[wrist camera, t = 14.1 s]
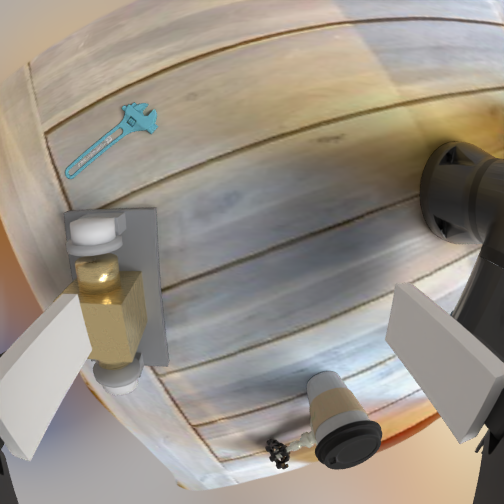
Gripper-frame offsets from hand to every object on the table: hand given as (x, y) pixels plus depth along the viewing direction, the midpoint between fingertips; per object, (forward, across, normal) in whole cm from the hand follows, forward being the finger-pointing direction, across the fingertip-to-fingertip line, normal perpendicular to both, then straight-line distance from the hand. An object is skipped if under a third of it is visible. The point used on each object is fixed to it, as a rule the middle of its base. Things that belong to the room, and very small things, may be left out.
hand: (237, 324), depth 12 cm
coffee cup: (+27, +14, -28) cm, 42 cm away
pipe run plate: (+26, -16, -10) cm, 32 cm away
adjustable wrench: (+26, -15, +9) cm, 32 cm away
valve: (+27, +11, -40) cm, 49 cm away
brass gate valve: (+24, -16, -10) cm, 31 cm away
